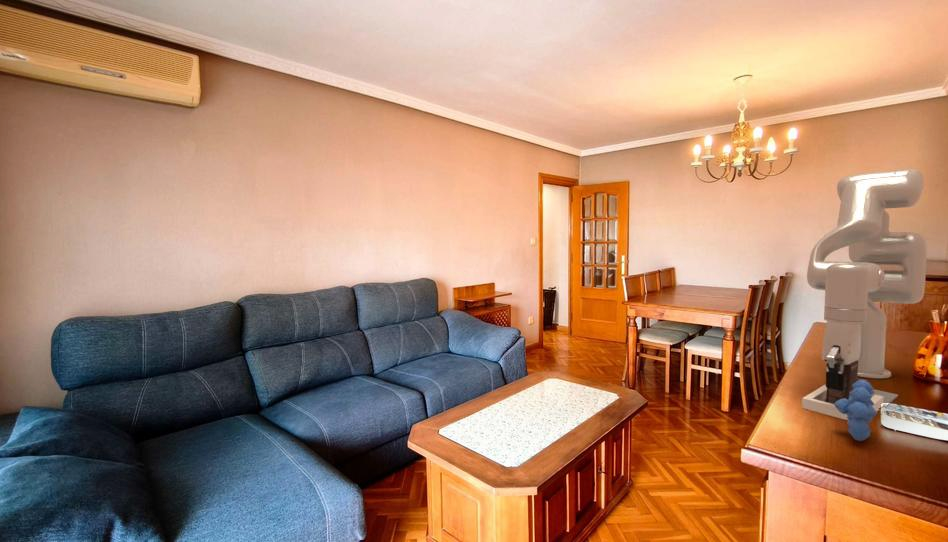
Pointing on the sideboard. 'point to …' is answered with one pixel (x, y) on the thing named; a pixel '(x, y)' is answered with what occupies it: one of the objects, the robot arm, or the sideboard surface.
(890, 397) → the mat
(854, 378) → the box
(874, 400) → the white rectangular frame
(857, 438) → the grapes
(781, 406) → the sideboard surface
